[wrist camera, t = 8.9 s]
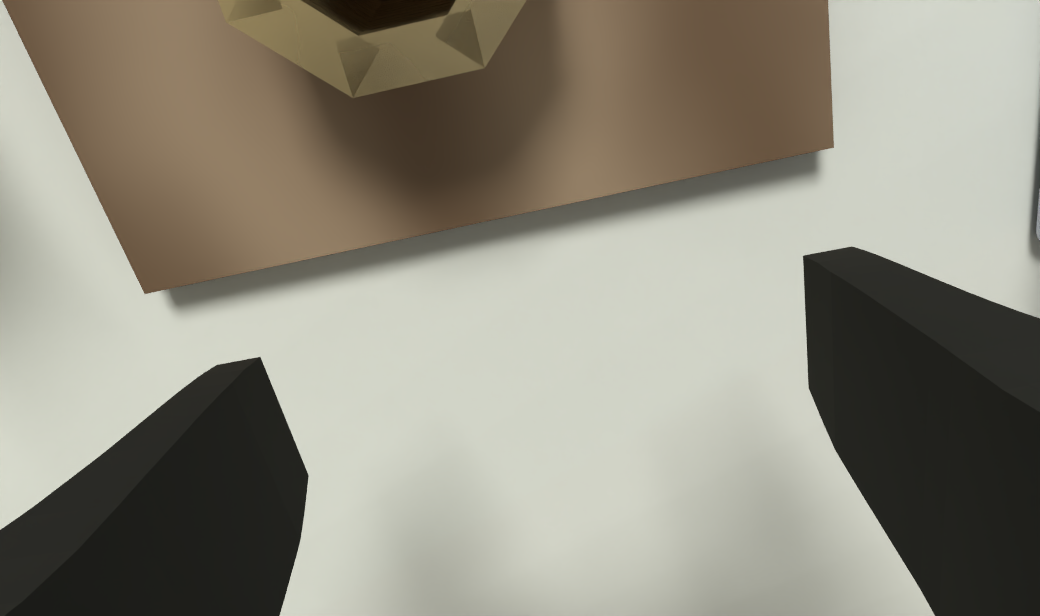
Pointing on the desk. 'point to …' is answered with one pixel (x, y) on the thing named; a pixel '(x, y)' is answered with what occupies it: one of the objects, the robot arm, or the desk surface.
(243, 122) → the post board
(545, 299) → the desk surface
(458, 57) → the wooden ring
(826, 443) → the desk surface
